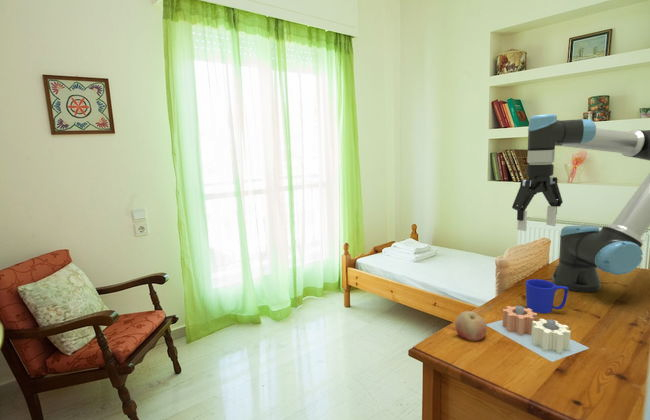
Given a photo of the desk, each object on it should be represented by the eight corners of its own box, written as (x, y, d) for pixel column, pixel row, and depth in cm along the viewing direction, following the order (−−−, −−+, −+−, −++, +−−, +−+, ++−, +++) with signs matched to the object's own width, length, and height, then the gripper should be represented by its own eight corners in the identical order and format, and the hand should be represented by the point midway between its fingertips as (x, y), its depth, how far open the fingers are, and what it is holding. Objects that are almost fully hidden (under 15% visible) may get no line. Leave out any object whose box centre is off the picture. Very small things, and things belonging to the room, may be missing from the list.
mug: (572, 319, 110) (574, 289, 108) (529, 317, 112) (531, 288, 111) (560, 308, 118) (562, 279, 116) (520, 306, 120) (522, 278, 119)
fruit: (467, 349, 97) (468, 322, 95) (449, 335, 104) (450, 309, 103) (492, 344, 99) (493, 317, 97) (473, 330, 106) (473, 305, 105)
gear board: (519, 319, 112) (520, 295, 110) (589, 353, 92) (591, 324, 91) (485, 329, 107) (485, 304, 105) (551, 367, 87) (553, 337, 86)
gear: (536, 332, 101) (537, 315, 100) (572, 343, 95) (574, 325, 94) (526, 344, 95) (527, 327, 94) (564, 356, 89) (565, 338, 88)
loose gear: (543, 331, 101) (544, 314, 100) (521, 338, 98) (521, 321, 97) (517, 318, 109) (517, 303, 108) (496, 324, 106) (496, 309, 105)
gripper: (555, 161, 123) (552, 221, 126) (501, 165, 114) (499, 230, 117) (577, 161, 116) (573, 225, 119) (522, 166, 107) (519, 234, 110)
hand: (536, 227), depth 118 cm, fingers open, 13 cm apart
